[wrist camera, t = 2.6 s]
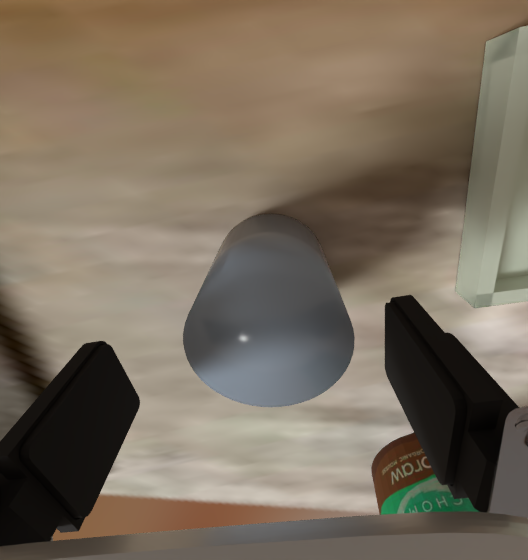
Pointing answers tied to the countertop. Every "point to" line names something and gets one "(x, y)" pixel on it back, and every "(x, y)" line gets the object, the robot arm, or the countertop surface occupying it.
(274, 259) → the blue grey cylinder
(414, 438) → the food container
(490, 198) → the tray
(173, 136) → the countertop surface
